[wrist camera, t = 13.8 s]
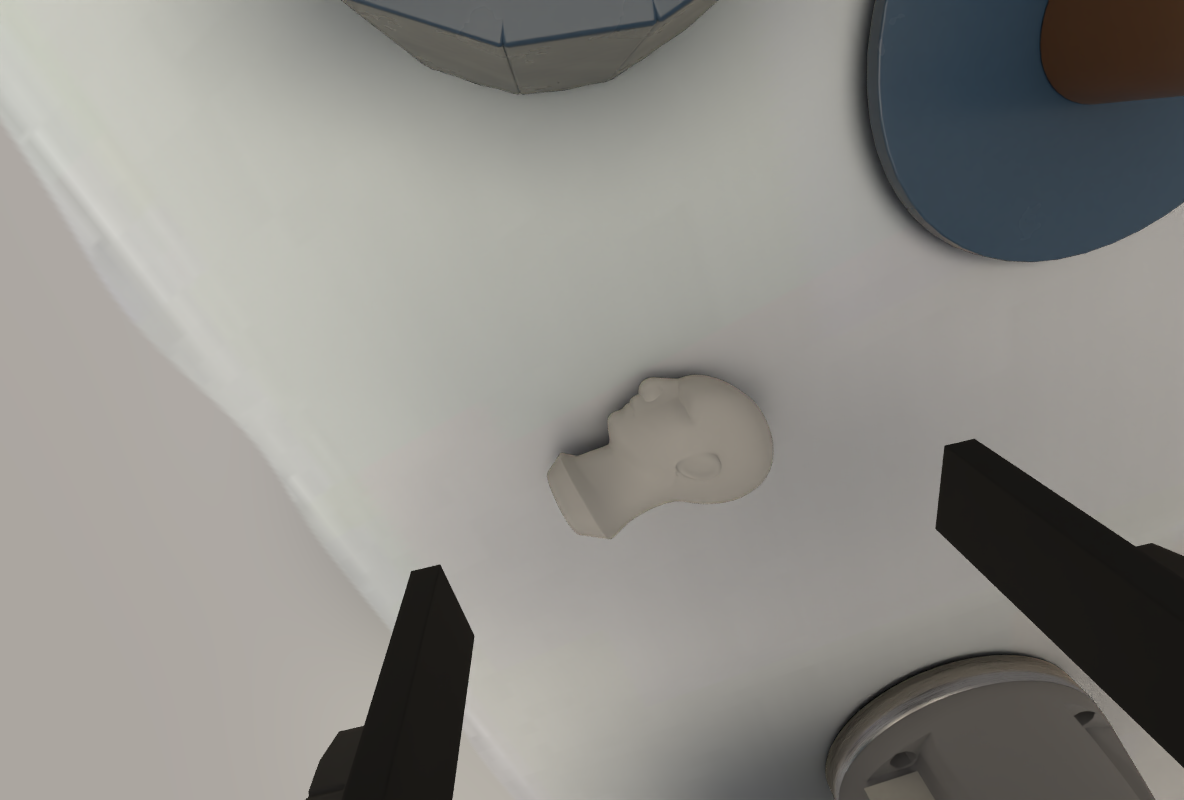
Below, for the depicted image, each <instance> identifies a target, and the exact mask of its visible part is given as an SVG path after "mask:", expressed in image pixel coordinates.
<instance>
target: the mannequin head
mask: <svg viewBox="0 0 1184 800" xmlns="http://www.w3.org/2000/svg"><path fill="white" fill-rule="evenodd" d="M607 426H608V433H609V439H610V441H609V444H608V445H606V446H603V447H600V448H598V449H595V450H592V451H589V452H587V453H584V454H581V455H578V456H575V455H571V454H566V453H560V455H559V456H558V458H557V459H556V461H555V462H554V464H553V465H552V467H551V468H550V470H549V471H548V473H547V478H548V482H549V486H550V488H551V491H552V493H553V496H554V498H555V500H556V502H557V504H558V506H559V508H560V510H561V512H562V514H563V516H564V518H565V519H566V521H567V522H568V524H569V525H570V527H571V528H572V529H573V530H574V531H575V532H576V533H577V534H579V535H584V536H591V537H598V538H605V539H612V538H614V537H615V536H616V535H617V534H618V533H619V532H620V530H621V529H622V528H623V527H624V526H626V525H627V524H628V523H629V522H630V521H632V520H633V519H634V518H636V517H638V516H639V515H641V514H643V513H644V512H646V511H648V510H650V509H652V508H655V507H657V506H660V505H662V504H665V503H669V502H675V501H683V502H690V503H698V504H717V503H724V502H729V501H733V500H736V499H739V498H741V497H743V496H745V495H747V494H749V493H750V492H752V491H753V490H755V489H756V488H757V487H758V486H759V485H760V484H761V483H762V482H763V481H764V479H765V478H766V477H767V475H768V473H769V471H770V468H771V465H772V461H773V441H772V436H771V432H770V429H769V426H768V424H767V421H766V419H765V417H764V415H763V413H762V411H761V410H760V408H759V407H758V405H757V404H756V403H755V402H754V401H753V400H752V399H751V398H750V397H749V396H747V395H746V394H744V393H743V392H742V391H740V390H739V389H737V388H736V387H734V386H732V385H731V384H729V383H727V382H725V381H722V380H720V379H717V378H714V377H710V376H706V375H689V376H684V377H681V378H678V379H673V378H655V377H652V378H647V379H645V380H644V381H642V383H641V384H640V386H639V391H638V395H635V396H633V397H632V398H631V400H630V402H629V403H628V404H626V405H625V406H624V407H623V409H621V410H618V411H615V412H613V413H611V414H610V415H609V417H608V421H607Z"/></svg>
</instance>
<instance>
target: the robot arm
mask: <svg viewBox="0 0 1184 800" xmlns="http://www.w3.org/2000/svg"><path fill="white" fill-rule="evenodd" d="M936 530H937V531H938V532H939V533H941V534H942V535H943V536H944V537H945V538H946V539H947V540H948V541H949V542H950V543H951V544H952V545H953V546H954V547H955V548H956V549H957V550H958V551H959V552H960V553H961V554H962V555H963V556H964V557H965V558H966V559H967V560H969V561H970V562H971V563H972V564H973V565H974V566H975V567H976V568H977V569H978V570H979V571H980V572H981V573H982V574H983V575H984V576H985V577H986V578H987V579H988V580H989V581H990V582H991V583H992V584H993V585H994V586H996V587H997V588H998V589H999V590H1000V591H1001V592H1002V593H1003V594H1004V595H1005V596H1006V597H1007V598H1008V599H1009V600H1010V601H1011V602H1012V603H1013V604H1014V605H1015V606H1016V607H1017V608H1018V609H1019V610H1020V611H1021V612H1023V613H1024V614H1025V615H1026V616H1027V617H1028V618H1029V619H1030V620H1031V621H1032V622H1033V623H1034V624H1035V625H1036V626H1037V627H1038V628H1039V629H1040V630H1041V631H1042V632H1043V633H1044V634H1045V635H1046V636H1047V637H1048V638H1049V639H1051V640H1052V641H1053V642H1054V643H1055V644H1056V645H1057V646H1058V647H1059V648H1060V649H1061V650H1062V651H1063V652H1064V653H1065V654H1066V655H1067V656H1068V657H1069V658H1070V659H1071V660H1072V661H1073V662H1074V663H1075V664H1076V665H1078V666H1079V667H1080V668H1081V669H1082V670H1083V671H1084V672H1085V673H1086V674H1087V675H1088V676H1089V677H1090V678H1091V679H1092V680H1093V681H1094V682H1095V683H1096V684H1097V685H1098V686H1099V687H1100V688H1101V689H1102V690H1103V691H1105V692H1106V693H1107V694H1108V695H1109V696H1110V697H1111V698H1112V699H1113V700H1114V701H1115V702H1116V703H1117V704H1118V705H1119V706H1120V707H1121V708H1122V709H1123V710H1124V711H1125V712H1126V713H1127V714H1128V715H1129V716H1130V717H1132V718H1133V719H1134V720H1135V721H1136V722H1137V723H1138V724H1139V725H1140V726H1141V727H1142V728H1143V729H1144V730H1145V731H1146V732H1147V733H1148V734H1149V735H1150V736H1151V737H1152V738H1153V739H1154V740H1155V741H1156V742H1157V743H1158V744H1160V745H1161V746H1162V747H1163V748H1164V749H1165V750H1166V751H1167V752H1168V753H1169V754H1170V755H1171V756H1172V757H1173V758H1174V759H1175V760H1176V761H1177V762H1178V763H1179V764H1180V765H1181V766H1182V767H1183V768H1184V556H1182V555H1180V554H1177V553H1175V552H1172V551H1170V550H1168V549H1165V548H1163V547H1160V546H1158V545H1155V544H1153V543H1150V544H1145V545H1141V546H1137V547H1135V546H1134V545H1132V544H1131V543H1129V542H1128V541H1126V540H1125V539H1123V538H1122V537H1120V536H1119V535H1117V534H1116V533H1114V532H1113V531H1111V530H1110V529H1108V528H1107V527H1106V526H1104V525H1103V524H1101V523H1100V522H1098V521H1097V520H1095V519H1094V518H1092V517H1091V516H1089V515H1088V514H1086V513H1085V512H1083V511H1082V510H1080V509H1079V508H1077V507H1076V506H1074V505H1073V504H1071V503H1070V502H1068V501H1067V500H1065V499H1064V498H1062V497H1061V496H1059V495H1058V494H1056V493H1055V492H1053V491H1052V490H1050V489H1049V488H1047V487H1046V486H1044V485H1043V484H1041V483H1040V482H1038V481H1037V480H1035V479H1034V478H1032V477H1031V476H1029V475H1028V474H1026V473H1025V472H1023V471H1022V470H1020V469H1019V468H1017V467H1016V466H1014V465H1013V464H1011V463H1010V462H1008V461H1007V460H1005V459H1004V458H1002V457H1001V456H999V455H998V454H996V453H995V452H993V451H992V450H991V449H989V448H988V447H986V446H985V445H983V444H982V443H980V442H979V441H977V440H976V439H971V440H967V441H963V442H959V443H954V444H950V445H946V446H944V455H943V465H942V474H941V483H940V492H939V501H938V510H937V519H936ZM473 643H474V634H473V632H472V630H471V628H470V626H469V623H468V621H467V619H466V617H465V615H464V613H463V611H462V609H461V607H460V605H459V603H458V600H457V598H456V596H455V594H454V592H453V590H452V588H451V586H450V584H449V582H448V580H447V578H446V575H445V573H444V571H443V569H442V567H441V565H436V566H432V567H427V568H423V569H419V570H415V571H411V574H410V577H409V581H408V584H407V587H406V590H405V594H404V597H403V600H402V603H401V607H400V610H399V613H398V617H397V620H396V623H395V626H394V630H393V633H392V636H391V639H390V643H389V646H388V650H387V653H386V656H385V659H384V662H383V666H382V669H381V672H380V675H379V679H378V682H377V686H376V689H375V692H374V695H373V699H372V702H371V705H370V708H369V712H368V715H367V718H366V721H365V725H364V726H361V727H357V728H353V729H349V730H345V731H340V732H339V733H338V734H337V736H336V737H335V739H334V740H333V742H332V743H331V745H330V746H329V748H328V749H327V751H326V752H325V754H324V755H323V757H322V758H321V760H320V762H319V764H318V767H317V770H316V772H315V775H314V778H313V781H312V784H311V786H310V789H309V797H308V798H306V800H452V798H453V791H454V783H455V776H456V768H457V761H458V754H459V746H460V739H461V731H462V724H463V717H464V709H465V702H466V695H467V687H468V680H469V672H470V665H471V658H472V650H473ZM825 773H826V779H827V782H828V785H829V787H830V790H831V792H832V794H833V796H834V798H835V800H1155V798H1154V796H1153V795H1152V793H1151V791H1150V790H1149V788H1148V786H1147V785H1146V783H1145V781H1144V780H1143V778H1142V776H1141V775H1140V773H1139V771H1138V770H1137V768H1136V766H1135V765H1134V763H1133V761H1132V760H1131V758H1130V756H1129V755H1128V753H1127V751H1126V750H1125V748H1124V746H1123V745H1122V743H1121V741H1120V740H1119V738H1118V736H1117V735H1116V733H1115V731H1114V730H1113V728H1112V726H1111V725H1110V723H1109V721H1108V720H1107V718H1106V717H1105V715H1104V714H1103V713H1102V711H1101V710H1100V709H1099V708H1098V707H1097V705H1096V703H1095V702H1094V701H1093V699H1092V698H1091V697H1090V696H1089V695H1088V694H1087V693H1086V692H1085V691H1084V690H1083V689H1082V688H1081V687H1080V686H1078V685H1077V684H1076V683H1075V682H1074V681H1073V680H1072V679H1071V678H1070V677H1069V676H1068V675H1067V674H1066V673H1065V672H1064V671H1063V670H1062V669H1060V668H1058V667H1057V666H1055V665H1053V664H1051V663H1049V662H1047V661H1044V660H1040V659H1037V658H1032V657H1027V656H1018V655H993V656H983V657H976V658H970V659H965V660H960V661H956V662H952V663H949V664H945V665H942V666H939V667H936V668H933V669H930V670H928V671H925V672H923V673H920V674H918V675H916V676H913V677H911V678H909V679H907V680H905V681H903V682H901V683H899V684H897V685H896V686H894V687H892V688H890V689H889V690H887V691H886V692H884V693H882V694H881V695H879V696H878V697H876V698H875V699H874V700H872V701H871V702H870V703H868V704H867V705H866V706H865V707H863V708H862V709H861V710H860V711H859V712H858V713H857V714H856V715H855V716H854V717H853V718H852V719H851V720H850V721H849V722H848V723H847V724H846V725H845V726H844V728H843V729H842V730H841V731H840V733H839V734H838V736H837V737H836V739H835V740H834V742H833V744H832V746H831V748H830V751H829V753H828V756H827V760H826V769H825Z"/></svg>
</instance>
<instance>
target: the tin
mask: <svg viewBox="0 0 1184 800" xmlns="http://www.w3.org/2000/svg"><path fill="white" fill-rule="evenodd" d="M341 1H343V2H344V3H345V4H346V5H348V6H349V7H350V8H352V9H353V10H354V11H355V12H357V13H358V14H359V15H361V16H362V17H363V18H364V19H366V20H367V21H368V22H370V23H371V24H372V25H373V26H375V27H376V28H377V29H379V30H380V31H381V32H382V33H384V34H385V35H386V36H388V37H389V38H390V39H392V40H393V41H394V42H395V43H397V44H398V45H399V46H401V47H402V48H403V49H404V50H406V51H407V52H408V53H410V54H411V55H412V56H413V57H415V58H416V59H417V60H419V61H420V62H421V63H422V64H424V65H426V66H428V67H429V68H431V69H434V70H438V71H441V72H444V73H448V74H451V75H454V76H457V77H460V78H462V79H465V80H467V81H470V82H473V83H475V84H479V85H484V86H488V87H493V88H497V89H501V90H504V91H508V92H511V93H514V94H523V95H524V94H530V93H537V92H550V91H563V90H568V89H572V88H576V87H581V86H585V85H589V84H595V83H601V82H606V81H608V80H611V79H613V78H615V77H616V76H618V75H619V74H621V73H622V72H624V71H625V70H627V69H628V68H630V67H631V66H633V65H634V64H636V63H637V62H639V61H641V60H642V59H644V58H646V57H647V56H648V55H650V54H651V53H652V52H653V51H655V50H656V49H658V48H659V47H661V46H662V45H663V44H665V43H666V42H668V41H669V40H671V39H672V38H674V37H675V36H677V35H678V34H680V33H681V32H683V31H684V30H686V29H687V28H688V27H689V26H690V25H691V24H693V23H694V22H695V21H696V20H697V19H698V18H699V17H700V16H701V15H703V14H704V13H705V12H706V11H707V10H708V9H709V8H710V7H712V6H713V5H714V4H715V3H716V2H717V1H718V0H341Z"/></svg>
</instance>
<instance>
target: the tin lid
mask: <svg viewBox="0 0 1184 800" xmlns="http://www.w3.org/2000/svg"><path fill="white" fill-rule="evenodd" d="M867 97H868V108H869V119H870V124H871V129H872V133H873V138H874V142H875V147H876V151H877V153H878V156H879V159H880V161H881V164H882V167H883V169H884V172H885V175H886V177H887V179H888V181H889V182H890V184H891V186H892V188H893V190H894V191H895V193H896V195H897V197H898V198H899V200H900V201H901V202H902V204H903V205H904V206H905V207H906V209H907V210H908V211H909V212H910V214H911V215H912V216H913V217H914V219H916V220H917V221H918V222H919V223H920V224H921V225H922V226H924V227H925V228H926V229H927V230H928V231H929V232H930V233H931V234H933V235H935V236H936V237H938V238H940V239H941V240H943V241H945V242H946V243H948V244H949V245H951V246H954V247H956V248H959V249H961V250H964V251H967V252H969V253H972V254H975V255H980V256H984V257H989V258H994V259H999V260H1004V261H1017V262H1038V261H1048V260H1058V259H1062V258H1066V257H1071V256H1075V255H1080V254H1084V253H1087V252H1090V251H1093V250H1096V249H1098V248H1101V247H1104V246H1107V245H1110V244H1112V243H1114V242H1117V241H1119V240H1121V239H1123V238H1125V237H1127V236H1129V235H1131V234H1134V233H1136V232H1138V231H1140V230H1141V229H1143V228H1145V227H1146V226H1148V225H1150V224H1152V223H1153V222H1155V221H1157V220H1158V219H1160V218H1162V217H1163V216H1165V215H1167V214H1168V213H1170V212H1171V211H1172V210H1174V209H1175V208H1177V207H1178V206H1179V205H1181V204H1182V203H1183V202H1184V0H875V4H874V9H873V13H872V20H871V28H870V36H869V43H868V51H867Z"/></svg>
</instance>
